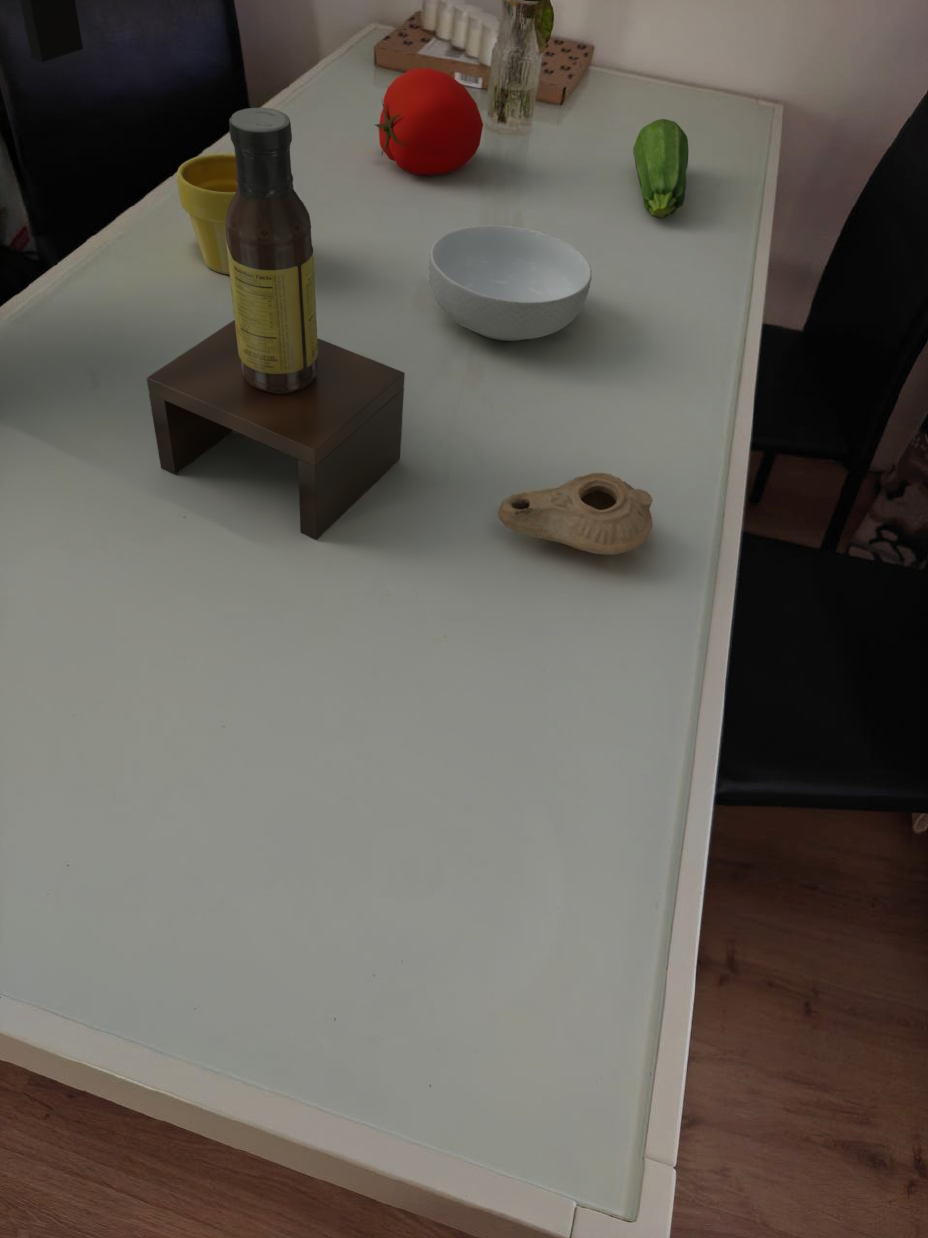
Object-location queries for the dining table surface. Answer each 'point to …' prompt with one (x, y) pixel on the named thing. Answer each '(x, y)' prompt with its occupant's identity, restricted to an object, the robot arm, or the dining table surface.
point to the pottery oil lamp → (583, 514)
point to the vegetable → (662, 166)
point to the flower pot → (209, 203)
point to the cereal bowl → (508, 281)
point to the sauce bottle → (270, 257)
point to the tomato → (429, 123)
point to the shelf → (285, 420)
